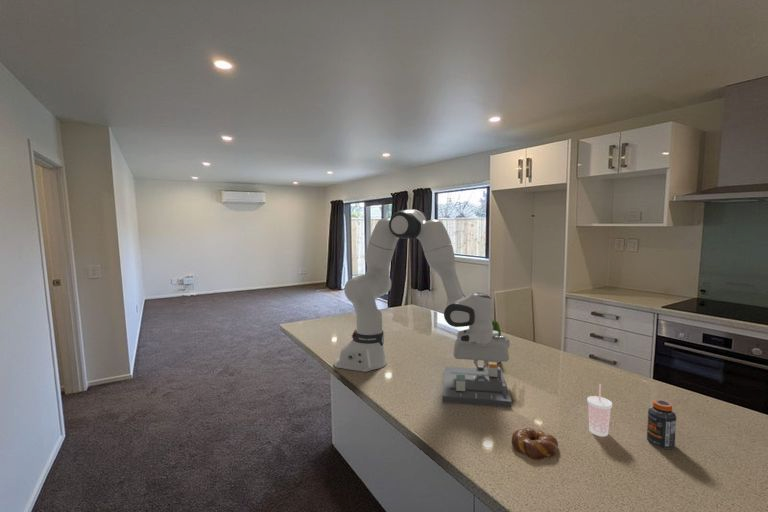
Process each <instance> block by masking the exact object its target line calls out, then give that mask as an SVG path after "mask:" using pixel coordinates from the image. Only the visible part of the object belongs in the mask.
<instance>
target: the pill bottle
mask: <svg viewBox="0 0 768 512" xmlns="http://www.w3.org/2000/svg"><path fill="white" fill-rule="evenodd" d="M676 428H677V415H676V413H675V412H674V411H673V404H672V403H671V402H669V401H667V400H663V399H654V400H653V401H652V406H650V407H649V408H648V411H647V429H646V440H647V441H648V443H649V444H651V445H652V446H654V447H656V448H659V449H663V450H672V449H674V448H675V446H676Z"/></svg>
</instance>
